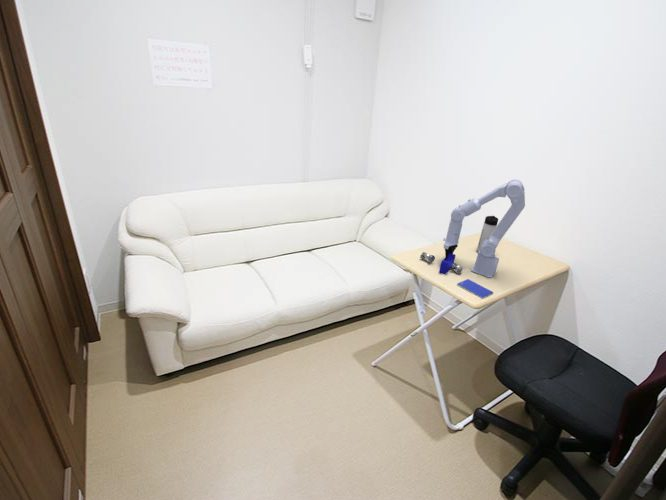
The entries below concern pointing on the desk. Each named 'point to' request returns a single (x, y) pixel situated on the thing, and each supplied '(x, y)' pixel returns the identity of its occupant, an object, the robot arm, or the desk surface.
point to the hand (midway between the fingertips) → (447, 258)
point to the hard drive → (475, 288)
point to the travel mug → (487, 229)
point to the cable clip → (447, 263)
